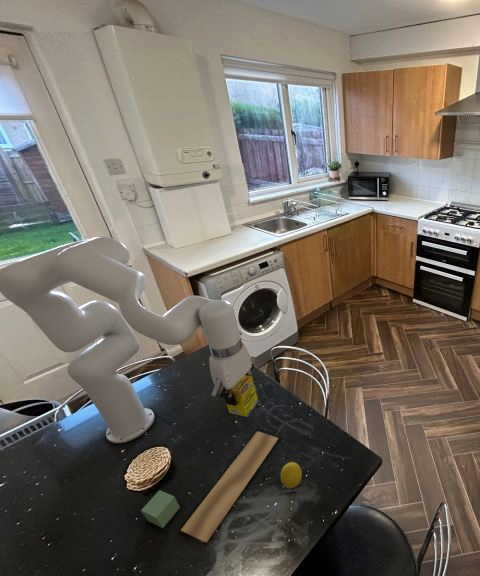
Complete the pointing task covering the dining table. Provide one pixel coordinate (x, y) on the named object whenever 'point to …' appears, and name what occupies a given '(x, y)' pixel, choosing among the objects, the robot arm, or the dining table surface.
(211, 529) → the wooden strip
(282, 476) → the lemon
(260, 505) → the dining table surface
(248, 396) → the supplement box
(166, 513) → the green block
